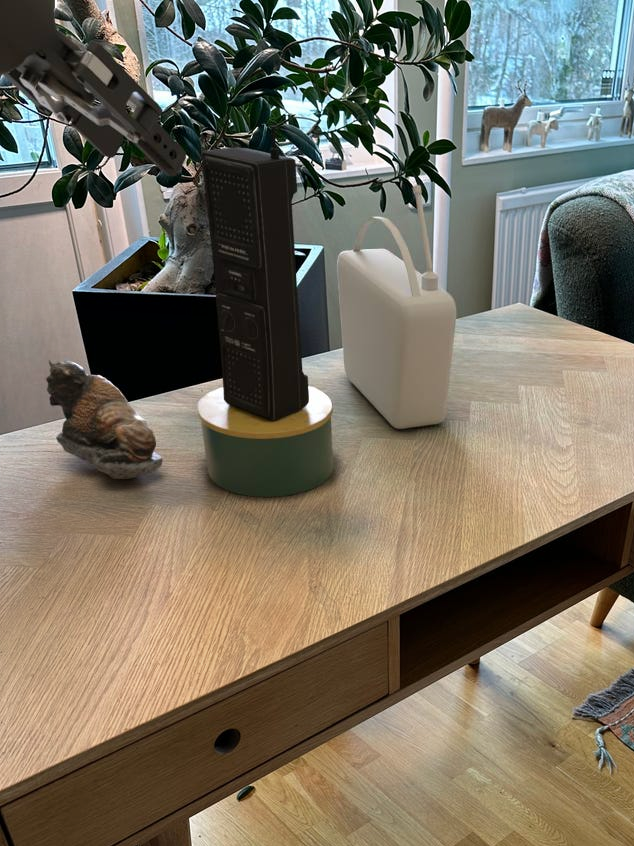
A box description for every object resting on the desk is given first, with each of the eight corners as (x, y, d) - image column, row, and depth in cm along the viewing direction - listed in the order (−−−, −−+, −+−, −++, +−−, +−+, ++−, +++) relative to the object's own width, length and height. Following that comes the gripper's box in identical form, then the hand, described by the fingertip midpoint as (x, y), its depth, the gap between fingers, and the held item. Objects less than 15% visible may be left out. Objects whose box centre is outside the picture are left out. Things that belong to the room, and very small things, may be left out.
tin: (179, 465, 93) (169, 402, 88) (280, 430, 101) (275, 370, 97) (260, 511, 86) (253, 445, 82) (361, 469, 94) (359, 407, 90)
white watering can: (465, 430, 104) (478, 199, 89) (400, 440, 101) (401, 201, 85) (395, 365, 119) (396, 158, 104) (337, 372, 116) (329, 159, 101)
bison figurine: (178, 471, 92) (163, 377, 86) (125, 497, 87) (105, 399, 81) (98, 440, 96) (78, 349, 90) (43, 463, 91) (18, 368, 85)
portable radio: (213, 402, 89) (176, 117, 74) (257, 386, 93) (231, 112, 78) (269, 424, 86) (242, 131, 70) (312, 406, 90) (296, 125, 74)
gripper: (43, -79, 52) (226, 130, 66) (-67, -87, 59) (120, 104, 73) (-21, 30, 52) (176, 215, 66) (-124, 9, 59) (74, 181, 73)
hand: (146, 157), depth 70 cm, fingers open, 8 cm apart
